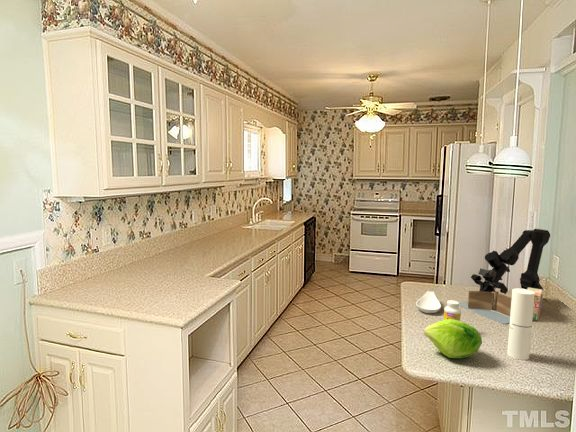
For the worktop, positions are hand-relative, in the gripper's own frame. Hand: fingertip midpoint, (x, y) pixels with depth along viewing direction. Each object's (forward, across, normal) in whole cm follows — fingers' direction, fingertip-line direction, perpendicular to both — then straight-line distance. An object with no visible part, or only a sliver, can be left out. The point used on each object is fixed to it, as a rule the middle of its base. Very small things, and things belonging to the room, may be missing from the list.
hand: (479, 296), depth 196 cm
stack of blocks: (-9, +14, +19) cm, 25 cm away
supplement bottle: (+28, +18, -20) cm, 39 cm away
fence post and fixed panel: (+1, +12, +8) cm, 14 cm away
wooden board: (+5, +2, +3) cm, 6 cm away
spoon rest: (+21, -9, -12) cm, 26 cm away
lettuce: (+39, +36, -32) cm, 62 cm away
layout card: (+3, +5, +6) cm, 9 cm away
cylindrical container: (+23, +44, -15) cm, 52 cm away
